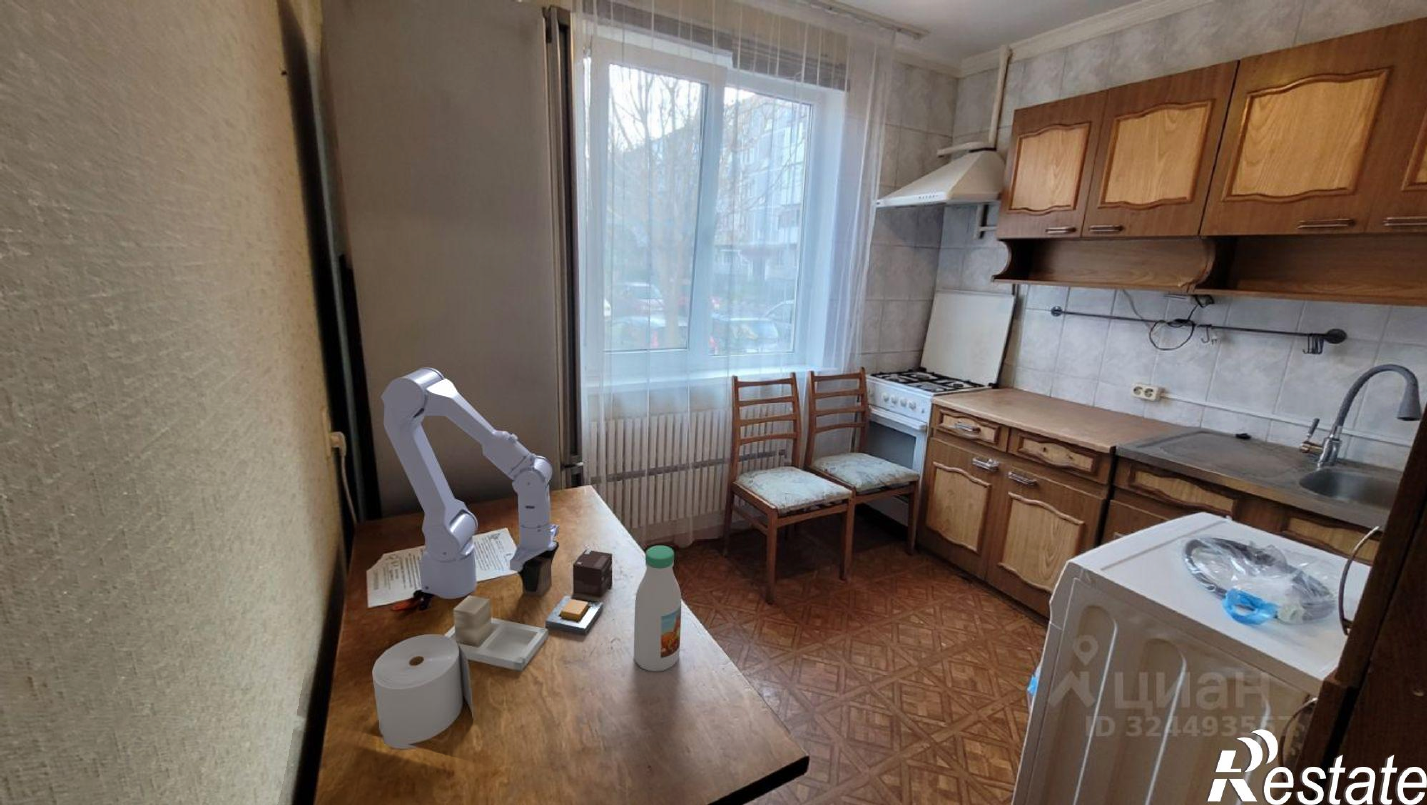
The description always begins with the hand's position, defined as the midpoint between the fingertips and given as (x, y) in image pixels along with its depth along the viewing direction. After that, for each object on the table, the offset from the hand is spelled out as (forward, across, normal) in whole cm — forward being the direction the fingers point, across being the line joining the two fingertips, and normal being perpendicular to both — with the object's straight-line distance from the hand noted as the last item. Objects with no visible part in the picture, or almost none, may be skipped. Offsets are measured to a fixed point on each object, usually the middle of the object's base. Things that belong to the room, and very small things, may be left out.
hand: (537, 583), depth 107 cm
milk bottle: (+2, -10, -28) cm, 30 cm away
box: (+2, +4, -10) cm, 11 cm away
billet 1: (+1, -16, +3) cm, 16 cm away
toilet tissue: (+2, -31, 0) cm, 31 cm away
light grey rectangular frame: (+2, -16, -1) cm, 16 cm away
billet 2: (+2, 0, 0) cm, 2 cm away
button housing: (+2, -6, -11) cm, 13 cm away
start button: (+2, -6, -11) cm, 13 cm away
